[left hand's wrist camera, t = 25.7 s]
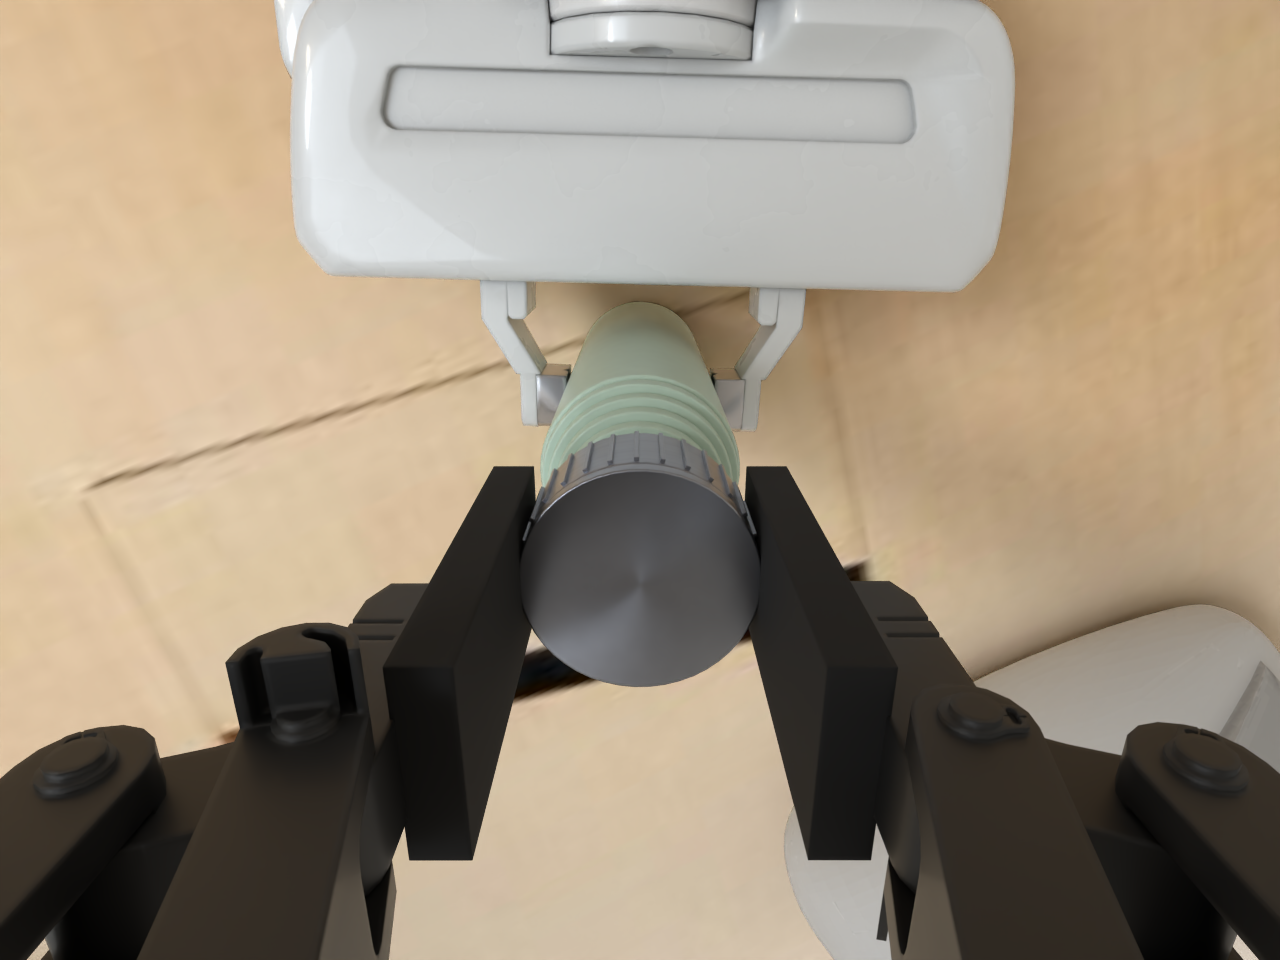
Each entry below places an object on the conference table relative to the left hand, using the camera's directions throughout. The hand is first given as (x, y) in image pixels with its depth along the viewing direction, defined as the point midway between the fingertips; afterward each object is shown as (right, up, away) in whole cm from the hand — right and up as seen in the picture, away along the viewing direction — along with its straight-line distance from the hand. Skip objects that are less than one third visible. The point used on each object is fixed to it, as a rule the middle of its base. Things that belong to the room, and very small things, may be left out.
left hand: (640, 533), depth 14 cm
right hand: (0, +3, +10) cm, 11 cm away
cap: (0, -1, -2) cm, 2 cm away
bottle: (0, +6, +16) cm, 17 cm away
